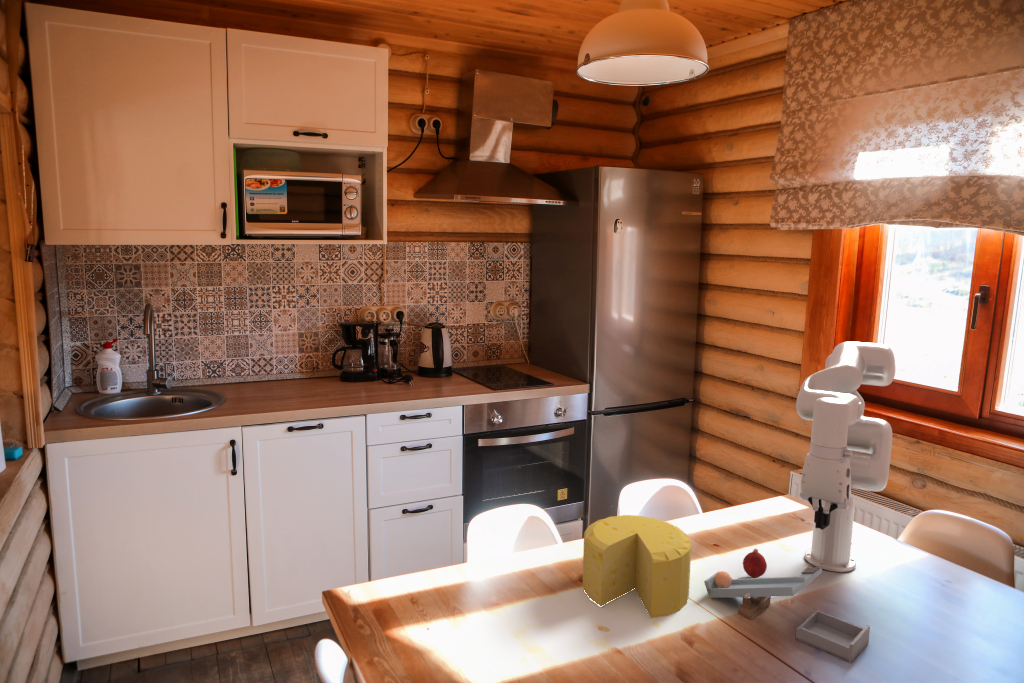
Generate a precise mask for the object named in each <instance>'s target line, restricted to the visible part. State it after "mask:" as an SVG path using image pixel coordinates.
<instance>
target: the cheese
mask: <svg viewBox="0 0 1024 683" xmlns="http://www.w3.org/2000/svg"><path fill="white" fill-rule="evenodd" d="M582 557H583V560H582V561H583V562H582V563H583V564H582V589H583V588H584V590H585V592H586V593H587V595H588V596H589V598H591V599H592V600H593V601H595V602H596V603H597V604H599V605H600V606H602V605H604V604H606V603H607V602H609V601H611V600H613V599H615V598H617V597H619V596H621V595H623V594H625V593H627V592H629V591H631V590H632V589H634V588H635V589H636V590H635V592H636V591H637V592H636V594H637V593H638V594H637V595H639V596H638V598H639V597H640V598H641V599H640V598H639V599H640V601H641V600H642V601H641V603H642V602H643V603H642V605H643V604H644V605H643V606H645V607H644V608H645V610H646V609H647V610H646V611H648V612H647V613H649V614H648V615H650V616H649V617H650V619H655V618H656V619H657V618H661V617H667V616H670V615H672V613H673V614H676V613H677V612H680V611H681V610H682V609H683V608H684V607H685V606H686V605H687V604H688V601H687V600H689V595H690V579H691V561H692V560H691V559H692V558H691V557H692V542H691V540H690V537H689V535H687V534H686V533H685V532H684V531H683V530H682V529H681V528H680V527H678V526H677V525H674V524H672V523H670V522H668V521H665V520H661V519H658V518H655V517H650V516H643V515H631V514H630V515H629V514H628V515H627V514H624V515H616V516H608V517H606V518H602V519H598V520H596V521H595V522H592V523H591V524H589V525H588V526H587V528H586V529H585V531H584V532H583V556H582ZM631 592H632V591H631ZM629 593H630V592H629ZM627 594H628V593H627ZM625 595H626V594H625ZM654 617H655V618H654Z"/></svg>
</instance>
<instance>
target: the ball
mask: <svg viewBox="0 0 1024 683" xmlns="http://www.w3.org/2000/svg"><path fill="white" fill-rule="evenodd" d="M717 572H718V573H717ZM717 572H716V573H717V574H716V573H715V574H716V575H715V583H716V585H717V586H718V587H720V588H728V587H729V586H730V585H731V582H732V580H731V579H732V577H731V575H730V574H729V573H728V572H726V571H723V570H721V571H717Z"/></svg>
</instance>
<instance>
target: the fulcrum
mask: <svg viewBox="0 0 1024 683" xmlns="http://www.w3.org/2000/svg"><path fill="white" fill-rule="evenodd" d="M771 598H772V597H749V598H747V599H745V598H744V597H742V601H741V602H742V603H741V604H740V605H738V606H737V607H738V608H737V615H738V616H741V617H743V618H745V619H748V620H750V621H751V620H753V619H754V618H755V617H757V615H759V614H760V613H761V612H762V611H764V610H765V609H766V608H767V607H769V606H770V605H771V601H772V600H771Z"/></svg>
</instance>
